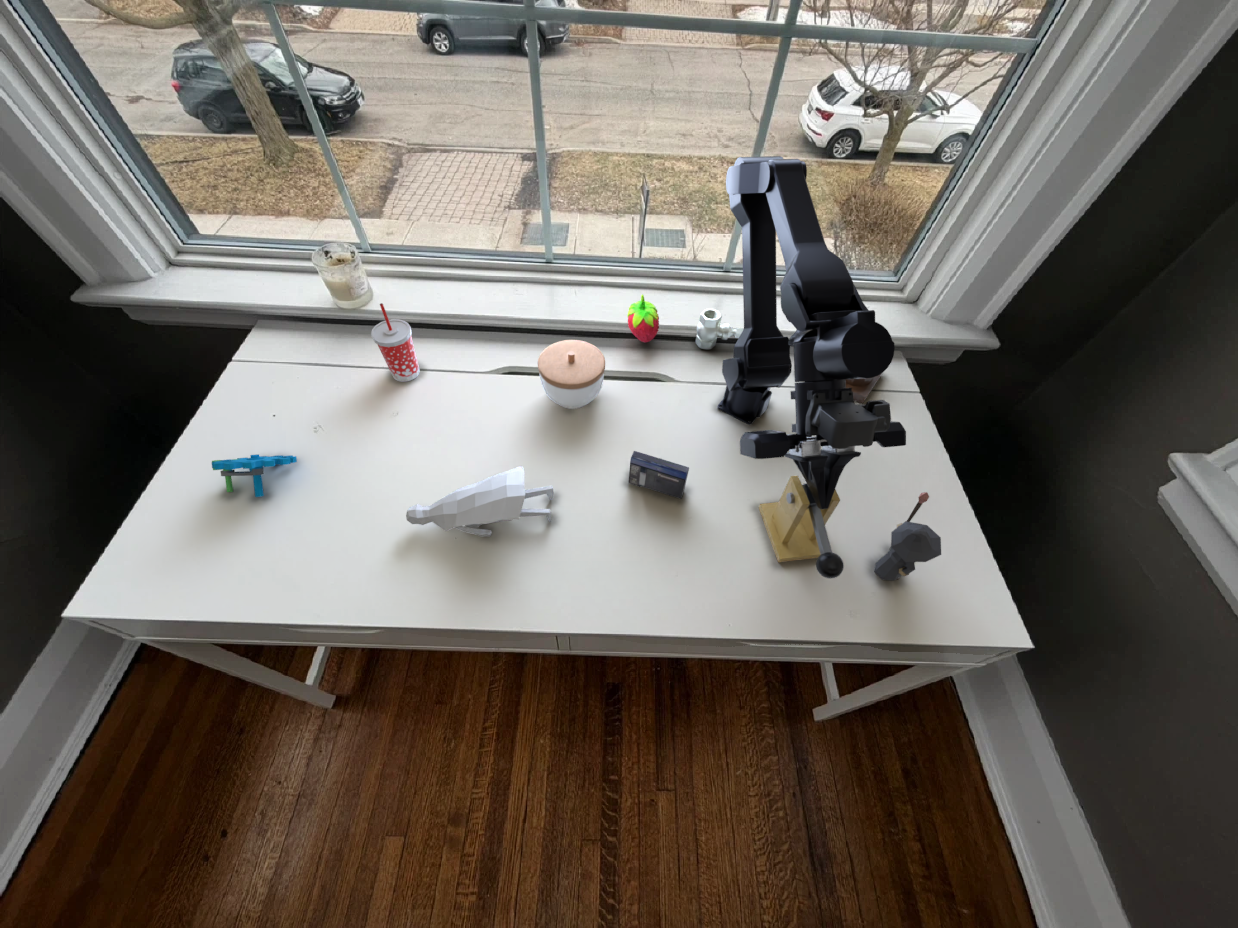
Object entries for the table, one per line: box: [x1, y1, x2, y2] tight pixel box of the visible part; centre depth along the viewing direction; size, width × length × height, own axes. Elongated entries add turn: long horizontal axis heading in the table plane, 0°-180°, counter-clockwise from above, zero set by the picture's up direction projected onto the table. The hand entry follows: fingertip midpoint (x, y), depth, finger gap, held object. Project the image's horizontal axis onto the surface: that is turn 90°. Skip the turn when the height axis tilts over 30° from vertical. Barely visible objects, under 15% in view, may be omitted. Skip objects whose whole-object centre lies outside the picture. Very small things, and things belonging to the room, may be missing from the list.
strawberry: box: [626, 294, 660, 343], centre depth 98 cm, size 6×7×10 cm
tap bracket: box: [758, 475, 841, 563], centre depth 73 cm, size 9×7×11 cm
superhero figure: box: [405, 465, 554, 537], centre depth 74 cm, size 10×9×20 cm
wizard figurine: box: [873, 491, 942, 581], centre depth 70 cm, size 8×6×12 cm
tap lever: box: [802, 482, 845, 579], centre depth 69 cm, size 12×3×3 cm, turn 8°
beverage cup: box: [370, 303, 421, 383], centre depth 89 cm, size 6×6×14 cm
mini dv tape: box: [628, 450, 690, 500], centre depth 79 cm, size 8×2×6 cm, turn 70°
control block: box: [835, 373, 883, 405], centre depth 97 cm, size 12×9×4 cm
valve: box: [695, 308, 744, 350], centre depth 99 cm, size 7×7×12 cm
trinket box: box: [537, 339, 606, 410], centre depth 89 cm, size 11×11×9 cm
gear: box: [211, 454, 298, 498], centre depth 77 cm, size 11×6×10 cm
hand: (823, 508), depth 67 cm, fingers closed
